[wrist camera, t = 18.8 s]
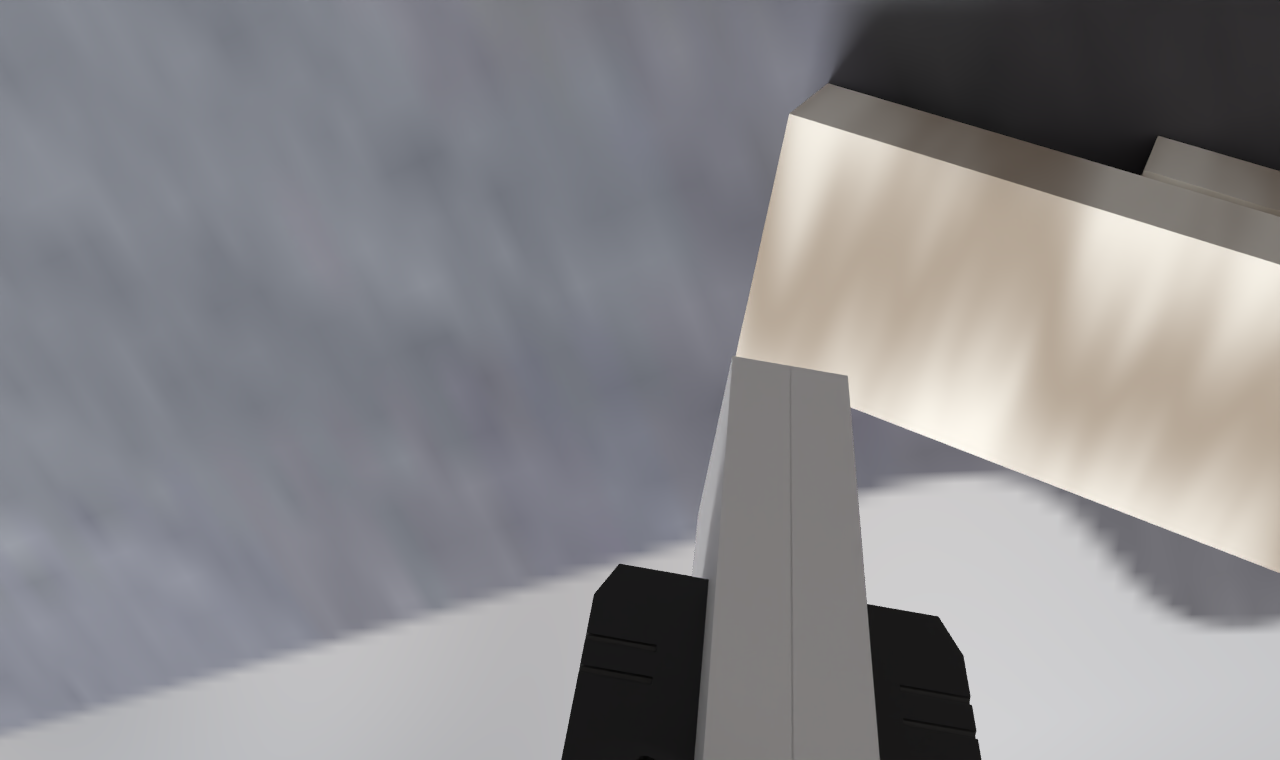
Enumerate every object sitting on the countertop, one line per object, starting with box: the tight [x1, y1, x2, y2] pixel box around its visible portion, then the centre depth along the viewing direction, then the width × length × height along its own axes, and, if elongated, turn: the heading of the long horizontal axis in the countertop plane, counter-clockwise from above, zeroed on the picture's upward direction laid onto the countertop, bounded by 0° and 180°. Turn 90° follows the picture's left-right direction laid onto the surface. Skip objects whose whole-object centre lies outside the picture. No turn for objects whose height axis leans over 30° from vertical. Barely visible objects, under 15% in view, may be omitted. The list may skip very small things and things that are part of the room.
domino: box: [736, 83, 1280, 573], centre depth 19 cm, size 5×2×10 cm
